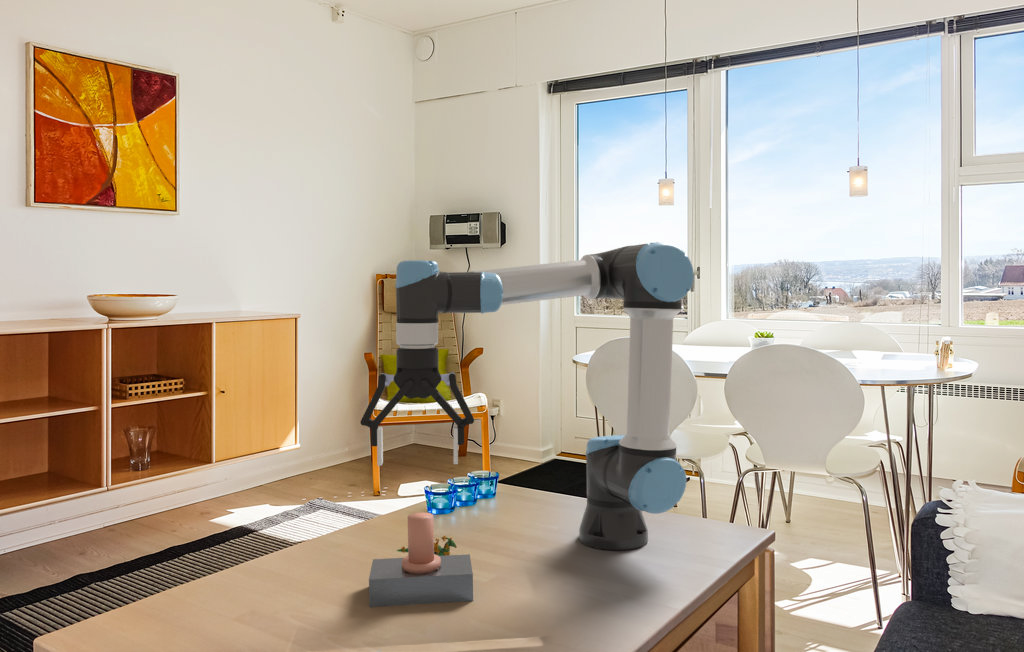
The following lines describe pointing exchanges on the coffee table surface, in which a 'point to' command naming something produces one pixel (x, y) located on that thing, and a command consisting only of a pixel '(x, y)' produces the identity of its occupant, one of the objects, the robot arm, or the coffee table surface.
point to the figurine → (438, 547)
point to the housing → (420, 582)
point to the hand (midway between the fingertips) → (418, 463)
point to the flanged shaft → (421, 545)
